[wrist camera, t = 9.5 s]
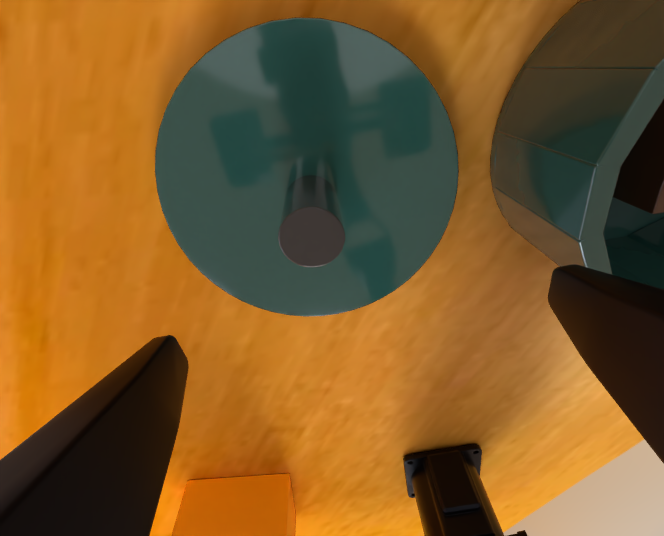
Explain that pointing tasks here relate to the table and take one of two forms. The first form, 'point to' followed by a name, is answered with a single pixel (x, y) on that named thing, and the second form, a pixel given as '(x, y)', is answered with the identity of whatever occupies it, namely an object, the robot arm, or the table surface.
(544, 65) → the tin
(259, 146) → the lid
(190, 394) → the table surface
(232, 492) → the orange juice
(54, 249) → the table surface
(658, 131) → the block
